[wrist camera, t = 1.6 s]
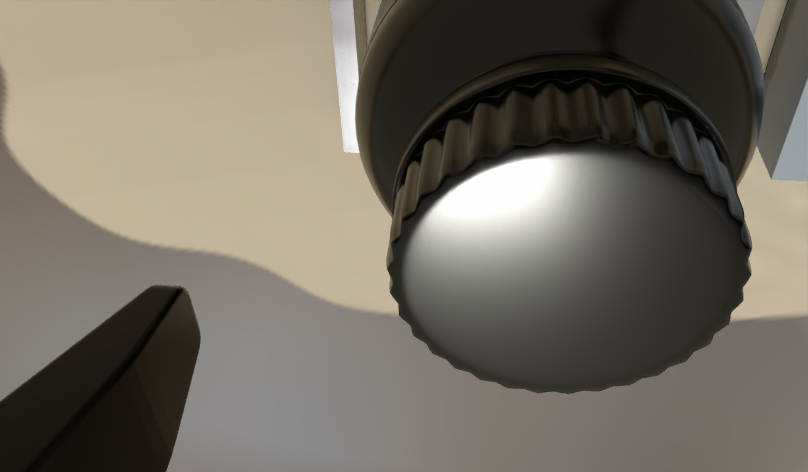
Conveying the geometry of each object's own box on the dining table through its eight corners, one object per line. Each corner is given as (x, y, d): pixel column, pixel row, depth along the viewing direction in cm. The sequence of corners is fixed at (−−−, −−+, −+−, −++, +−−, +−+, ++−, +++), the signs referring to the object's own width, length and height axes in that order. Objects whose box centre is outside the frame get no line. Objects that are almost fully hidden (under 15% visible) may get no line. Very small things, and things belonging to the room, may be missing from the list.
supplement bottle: (420, 83, 22) (346, 431, 13) (388, -179, 17) (239, 64, 8) (667, 71, 20) (781, 444, 11) (699, -215, 16) (925, 23, 7)
